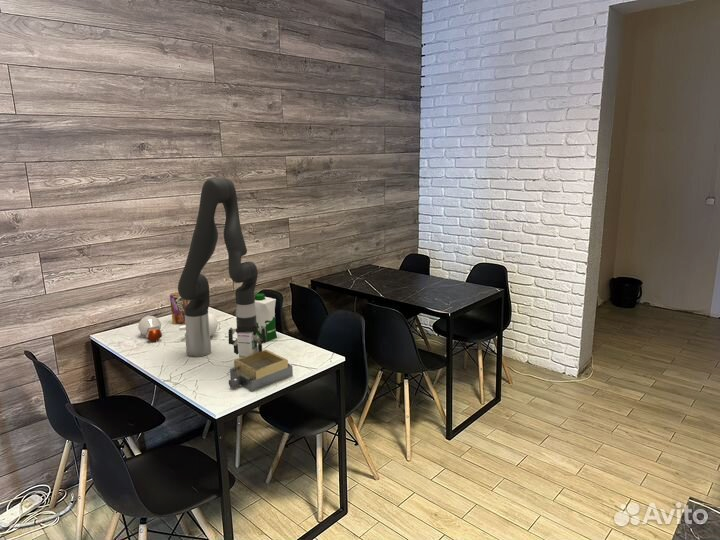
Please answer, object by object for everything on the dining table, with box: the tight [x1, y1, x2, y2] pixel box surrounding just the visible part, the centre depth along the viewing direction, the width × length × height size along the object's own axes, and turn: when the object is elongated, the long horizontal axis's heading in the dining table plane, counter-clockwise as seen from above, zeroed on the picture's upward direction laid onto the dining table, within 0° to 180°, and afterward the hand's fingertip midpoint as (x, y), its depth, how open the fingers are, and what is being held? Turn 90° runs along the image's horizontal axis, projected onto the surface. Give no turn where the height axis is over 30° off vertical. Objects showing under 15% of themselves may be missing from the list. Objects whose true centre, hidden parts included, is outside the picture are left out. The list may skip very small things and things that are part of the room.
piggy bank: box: [178, 312, 219, 337], centre depth 225 cm, size 12×12×15 cm
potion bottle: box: [137, 315, 163, 343], centre depth 225 cm, size 9×10×15 cm
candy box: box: [169, 291, 190, 325], centre depth 242 cm, size 9×4×15 cm, turn 85°
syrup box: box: [236, 332, 258, 359], centre depth 195 cm, size 6×6×14 cm
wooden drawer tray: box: [228, 349, 294, 392], centre depth 184 cm, size 22×14×7 cm, turn 135°
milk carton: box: [254, 292, 278, 343], centre depth 222 cm, size 9×9×20 cm
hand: (248, 353), depth 195 cm, fingers open, 8 cm apart
